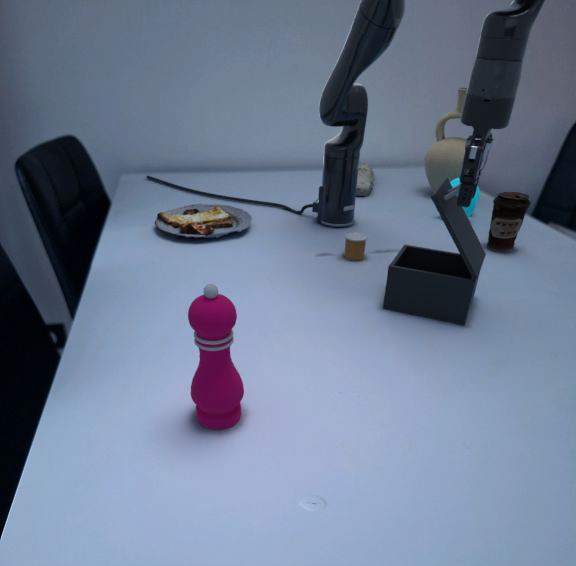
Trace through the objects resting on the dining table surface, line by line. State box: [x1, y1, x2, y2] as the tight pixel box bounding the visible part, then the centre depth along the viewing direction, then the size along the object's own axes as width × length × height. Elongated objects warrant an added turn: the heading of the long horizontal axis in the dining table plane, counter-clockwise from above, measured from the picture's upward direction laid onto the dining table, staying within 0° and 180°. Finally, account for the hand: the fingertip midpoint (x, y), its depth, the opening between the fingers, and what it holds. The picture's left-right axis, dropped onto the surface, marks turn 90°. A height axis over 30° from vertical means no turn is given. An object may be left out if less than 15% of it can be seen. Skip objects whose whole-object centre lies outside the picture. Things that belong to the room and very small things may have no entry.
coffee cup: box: [486, 191, 532, 253], centre depth 128 cm, size 9×8×13 cm
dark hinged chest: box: [382, 244, 481, 326], centre depth 103 cm, size 16×13×9 cm
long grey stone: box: [356, 161, 375, 197], centre depth 179 cm, size 35×5×10 cm
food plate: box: [154, 203, 253, 239], centre depth 139 cm, size 25×23×4 cm
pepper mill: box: [187, 283, 245, 430], centre depth 69 cm, size 7×7×20 cm
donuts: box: [450, 178, 481, 218], centre depth 150 cm, size 10×10×10 cm
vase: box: [424, 87, 469, 193], centre depth 162 cm, size 17×17×30 cm
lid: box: [430, 178, 487, 280], centre depth 94 cm, size 16×13×5 cm
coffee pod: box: [344, 231, 368, 262], centre depth 124 cm, size 5×5×5 cm
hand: (465, 201), depth 93 cm, fingers closed on lid, 5 cm apart
